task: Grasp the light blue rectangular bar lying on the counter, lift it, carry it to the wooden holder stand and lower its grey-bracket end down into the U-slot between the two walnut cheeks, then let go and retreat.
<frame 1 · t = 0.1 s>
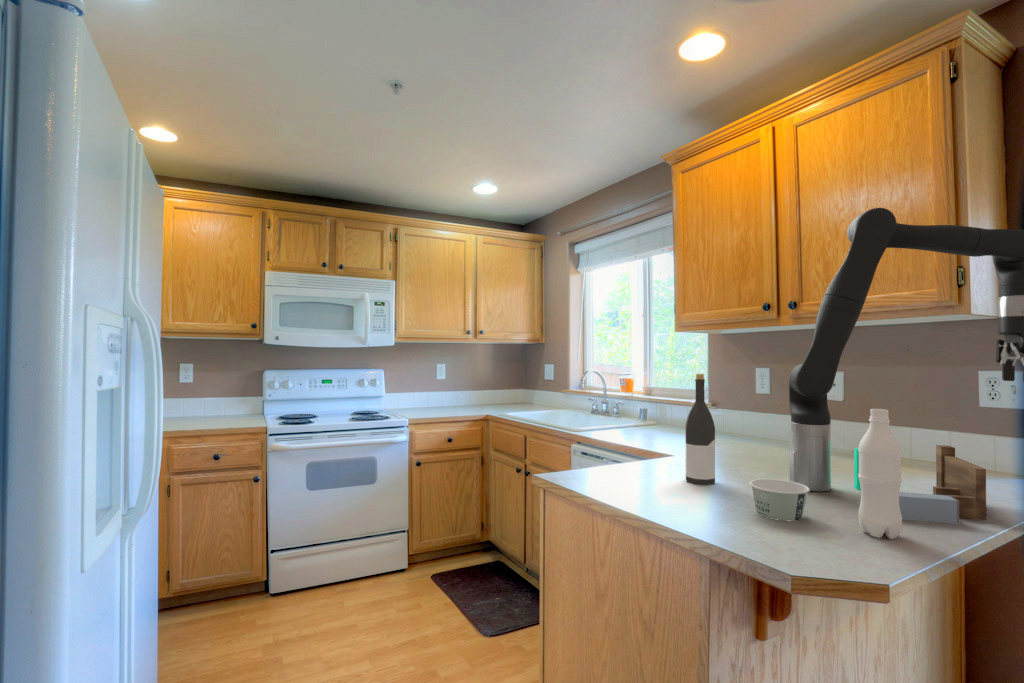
hand: (1018, 381, 128), 29 cm above the table, fingers open, 8 cm apart
light blue rectangular bar: (914, 517, 117), on the table
water bottle: (879, 535, 106), on the table
wooden holder stand: (950, 507, 124), on the table
food container: (779, 515, 119), on the table
wine bottle: (700, 482, 147), on the table
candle: (867, 489, 140), on the table
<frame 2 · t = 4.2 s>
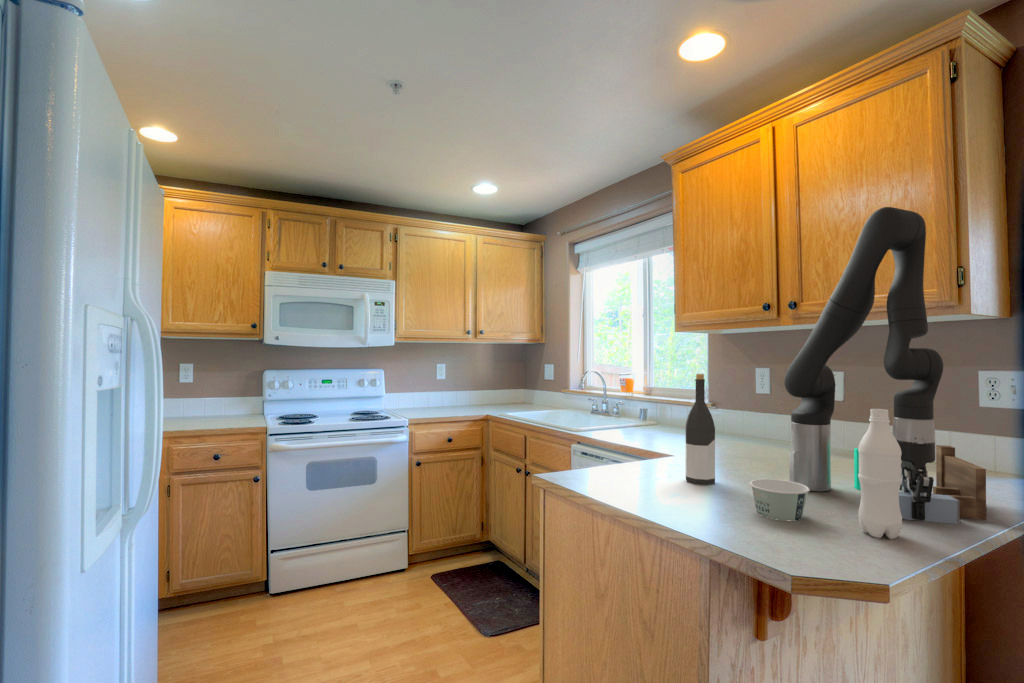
hand: (913, 515, 117), 0 cm above the table, fingers closed on light blue rectangular bar, 4 cm apart
light blue rectangular bar: (914, 517, 117), on the table, touching gripper
everything else where it was.
when the fingers open (1 cm above the table, at t = 9.8 s): light blue rectangular bar drops 1 cm, on the table.
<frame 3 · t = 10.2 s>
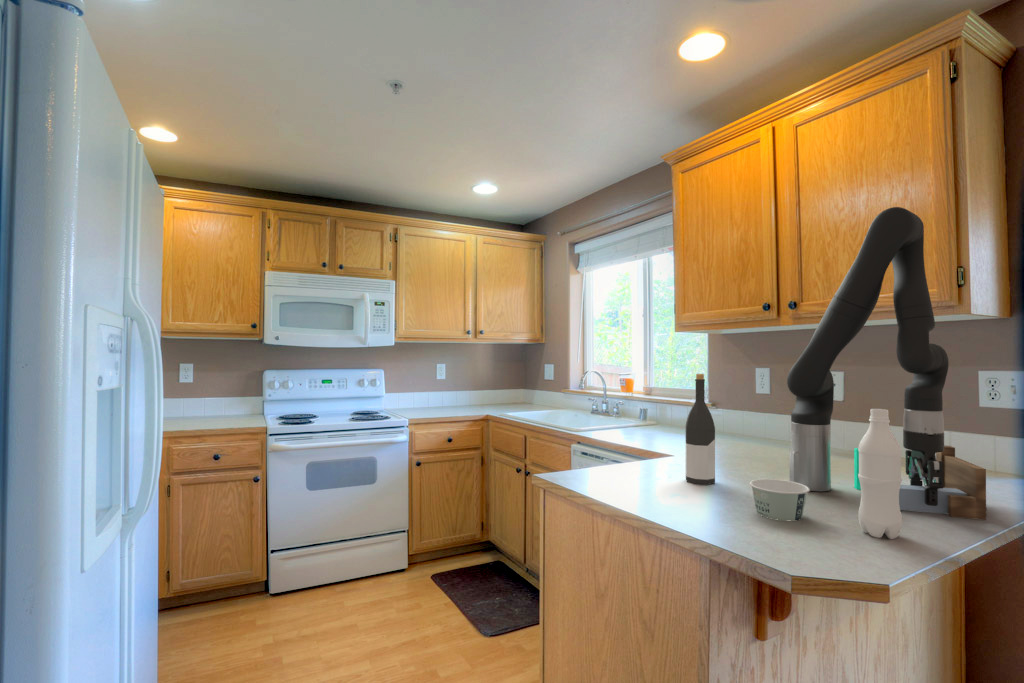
hand: (923, 500, 123), 2 cm above the table, fingers open, 7 cm apart
light blue rectangular bar: (924, 510, 123), on the table
everything else where it was.
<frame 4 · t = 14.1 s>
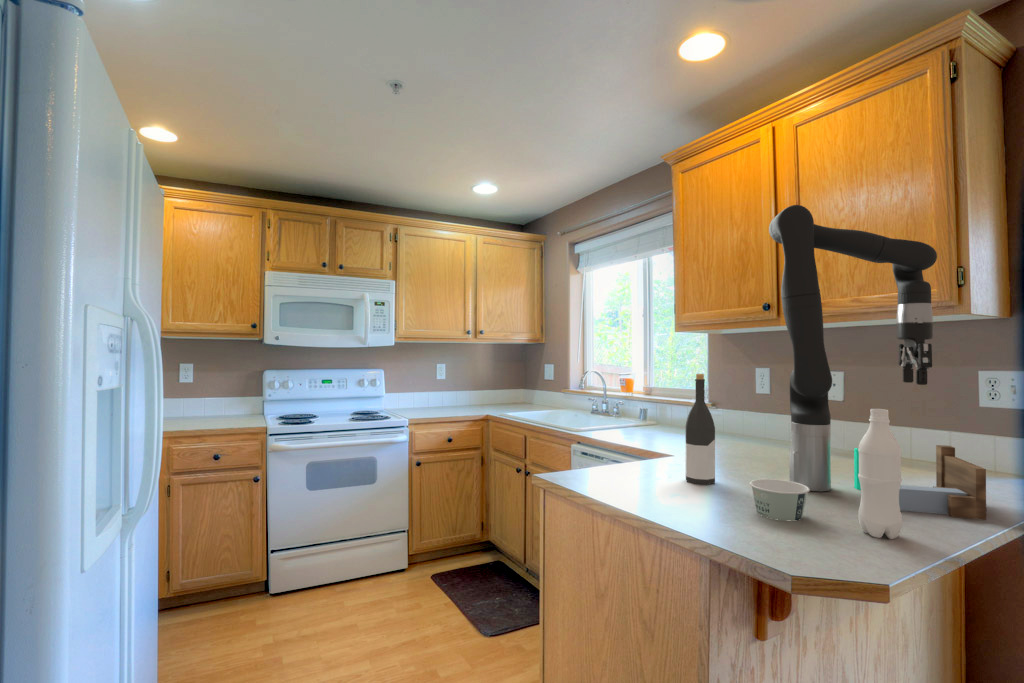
hand: (914, 383, 138), 28 cm above the table, fingers open, 8 cm apart
nothing on the table moved.
at the end: light blue rectangular bar 1.5 cm from the target spot on the table beside the wooden holder stand, on the table; light blue rectangular bar tilted 0°; the gripper is holding nothing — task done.
